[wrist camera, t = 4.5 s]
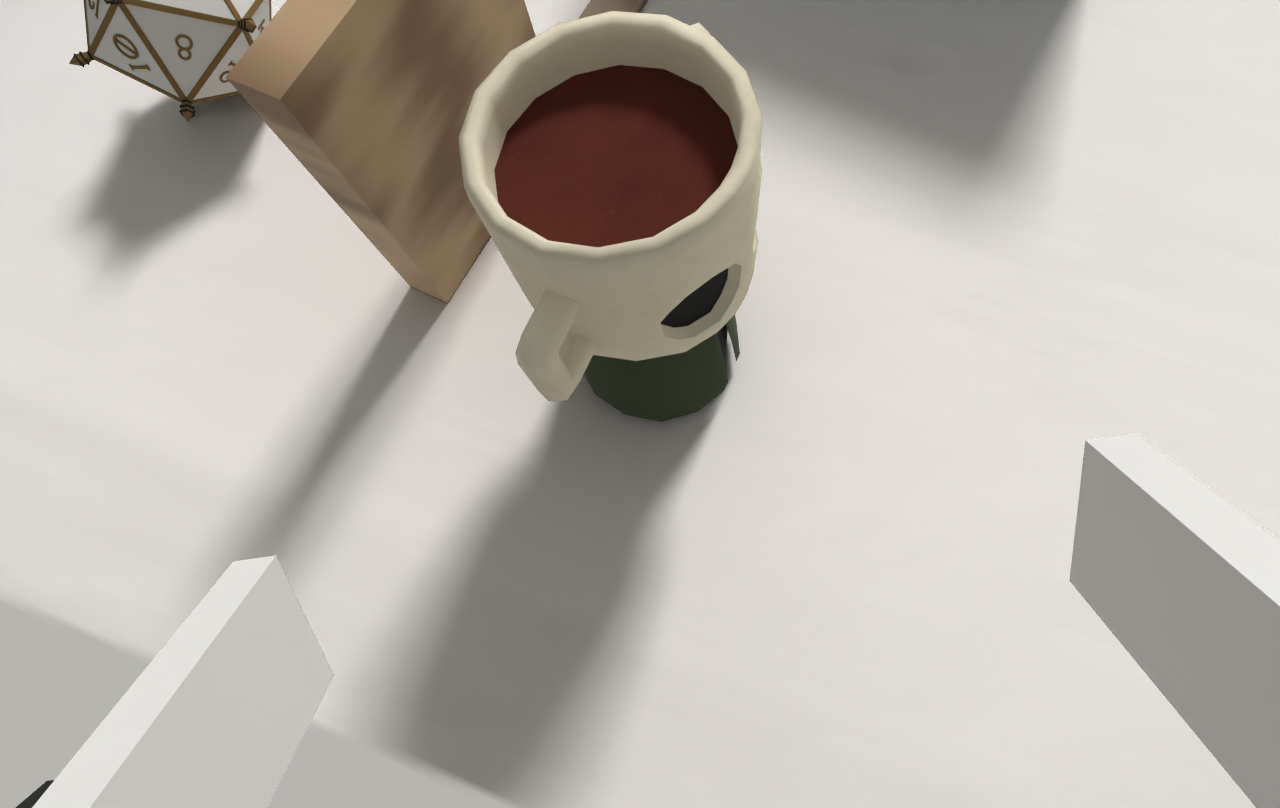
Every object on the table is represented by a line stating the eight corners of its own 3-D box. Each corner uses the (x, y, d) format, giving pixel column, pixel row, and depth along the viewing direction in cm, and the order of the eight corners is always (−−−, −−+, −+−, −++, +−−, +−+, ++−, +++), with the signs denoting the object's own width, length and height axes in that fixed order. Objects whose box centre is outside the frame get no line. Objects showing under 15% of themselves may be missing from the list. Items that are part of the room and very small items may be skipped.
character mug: (689, 510, 26) (652, 391, 14) (521, 440, 28) (358, 278, 16) (793, 264, 29) (838, -15, 17) (634, 213, 31) (570, -74, 18)
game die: (304, 107, 40) (319, -88, 33) (263, 194, 34) (270, -19, 27) (117, 48, 37) (91, -181, 30) (39, 132, 31) (-16, -125, 24)
